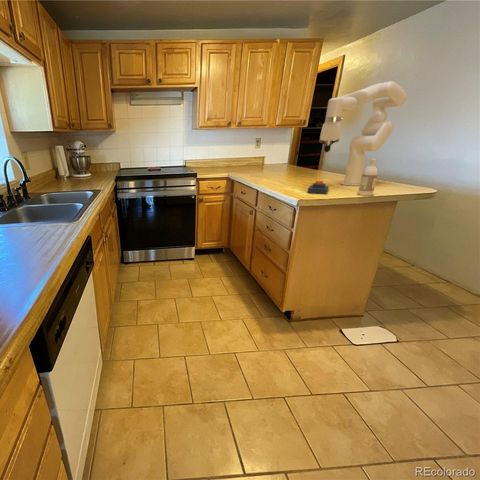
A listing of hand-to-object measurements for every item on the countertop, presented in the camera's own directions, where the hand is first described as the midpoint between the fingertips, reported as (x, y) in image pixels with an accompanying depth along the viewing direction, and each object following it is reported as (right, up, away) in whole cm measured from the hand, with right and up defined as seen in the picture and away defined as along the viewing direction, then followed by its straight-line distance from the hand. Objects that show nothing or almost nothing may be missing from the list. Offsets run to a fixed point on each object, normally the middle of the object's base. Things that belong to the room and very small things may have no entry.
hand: (326, 152), depth 168 cm
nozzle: (-6, -21, -3) cm, 22 cm away
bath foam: (+14, -29, -13) cm, 35 cm away
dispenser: (-6, -25, -1) cm, 26 cm away
